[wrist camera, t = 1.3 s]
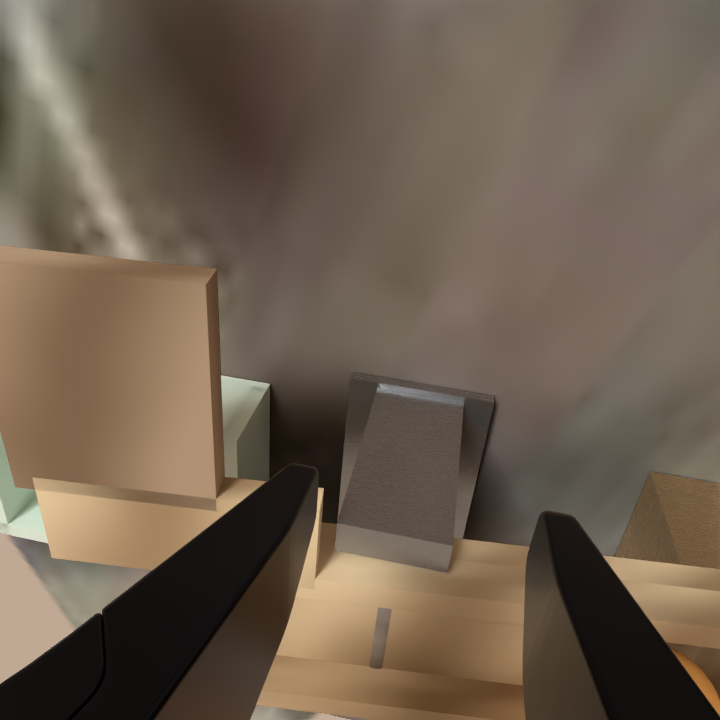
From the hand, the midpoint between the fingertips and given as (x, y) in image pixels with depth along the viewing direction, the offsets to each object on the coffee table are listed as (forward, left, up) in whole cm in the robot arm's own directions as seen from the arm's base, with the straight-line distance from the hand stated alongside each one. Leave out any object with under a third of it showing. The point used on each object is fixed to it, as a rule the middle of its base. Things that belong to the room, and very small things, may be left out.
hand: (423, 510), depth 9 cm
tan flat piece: (0, +6, -6) cm, 9 cm away
